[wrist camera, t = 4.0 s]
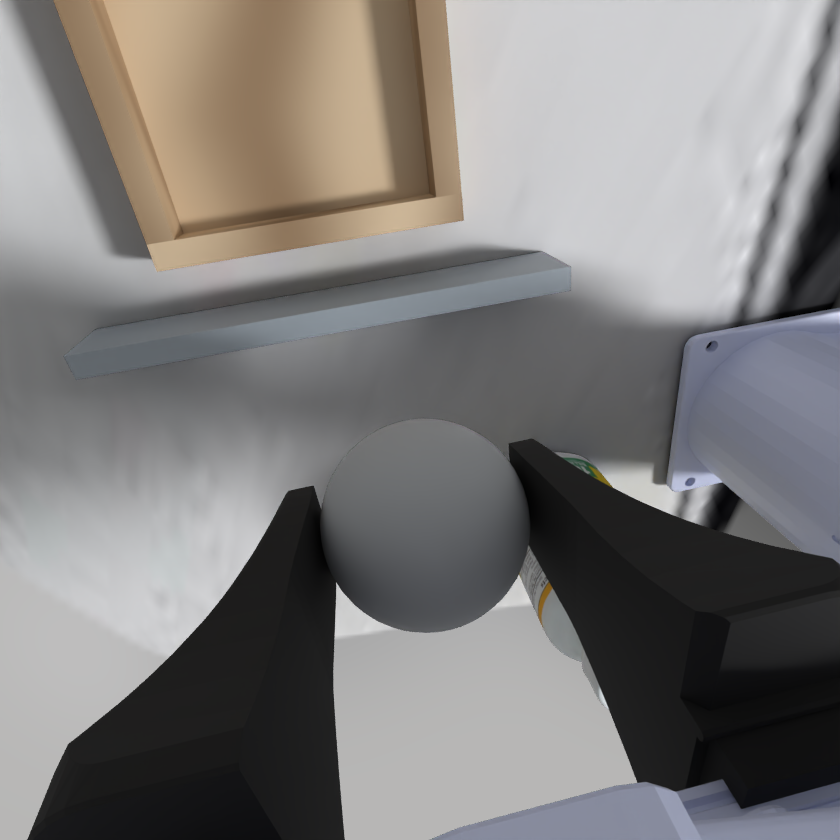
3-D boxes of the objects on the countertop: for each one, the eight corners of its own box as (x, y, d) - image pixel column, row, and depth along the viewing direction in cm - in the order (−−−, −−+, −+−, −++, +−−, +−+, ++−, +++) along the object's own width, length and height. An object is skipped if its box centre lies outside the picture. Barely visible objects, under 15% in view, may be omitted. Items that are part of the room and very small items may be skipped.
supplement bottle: (468, 495, 24) (545, 686, 16) (563, 425, 23) (699, 590, 15) (529, 555, 26) (623, 747, 18) (617, 494, 25) (760, 668, 17)
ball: (484, 366, 13) (566, 472, 9) (497, 511, 16) (567, 647, 11) (296, 408, 13) (291, 539, 9) (340, 550, 15) (353, 706, 11)
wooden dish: (415, -188, 13) (426, -226, 12) (453, 213, 18) (463, 220, 16) (22, -146, 12) (-17, -182, 11) (170, 260, 17) (157, 271, 16)
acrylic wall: (543, 251, 19) (570, 266, 17) (543, 273, 19) (570, 290, 17) (95, 329, 18) (63, 356, 16) (104, 350, 18) (75, 379, 16)
